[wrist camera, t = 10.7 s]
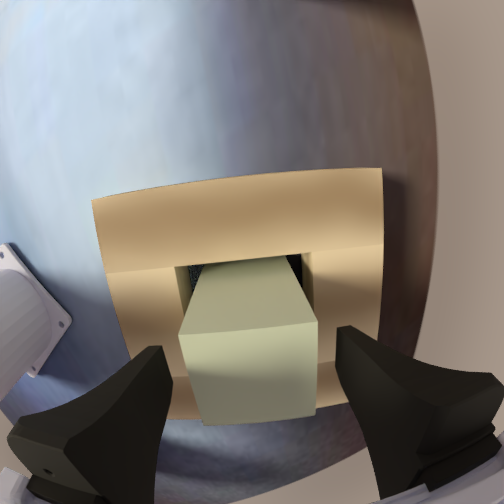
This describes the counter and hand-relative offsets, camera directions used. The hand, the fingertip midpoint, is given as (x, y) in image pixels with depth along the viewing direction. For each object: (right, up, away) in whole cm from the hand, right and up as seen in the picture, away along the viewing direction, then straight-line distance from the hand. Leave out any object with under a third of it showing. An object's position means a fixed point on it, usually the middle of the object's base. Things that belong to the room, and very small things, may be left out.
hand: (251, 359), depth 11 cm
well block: (0, +2, +6) cm, 6 cm away
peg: (0, +2, +6) cm, 6 cm away
